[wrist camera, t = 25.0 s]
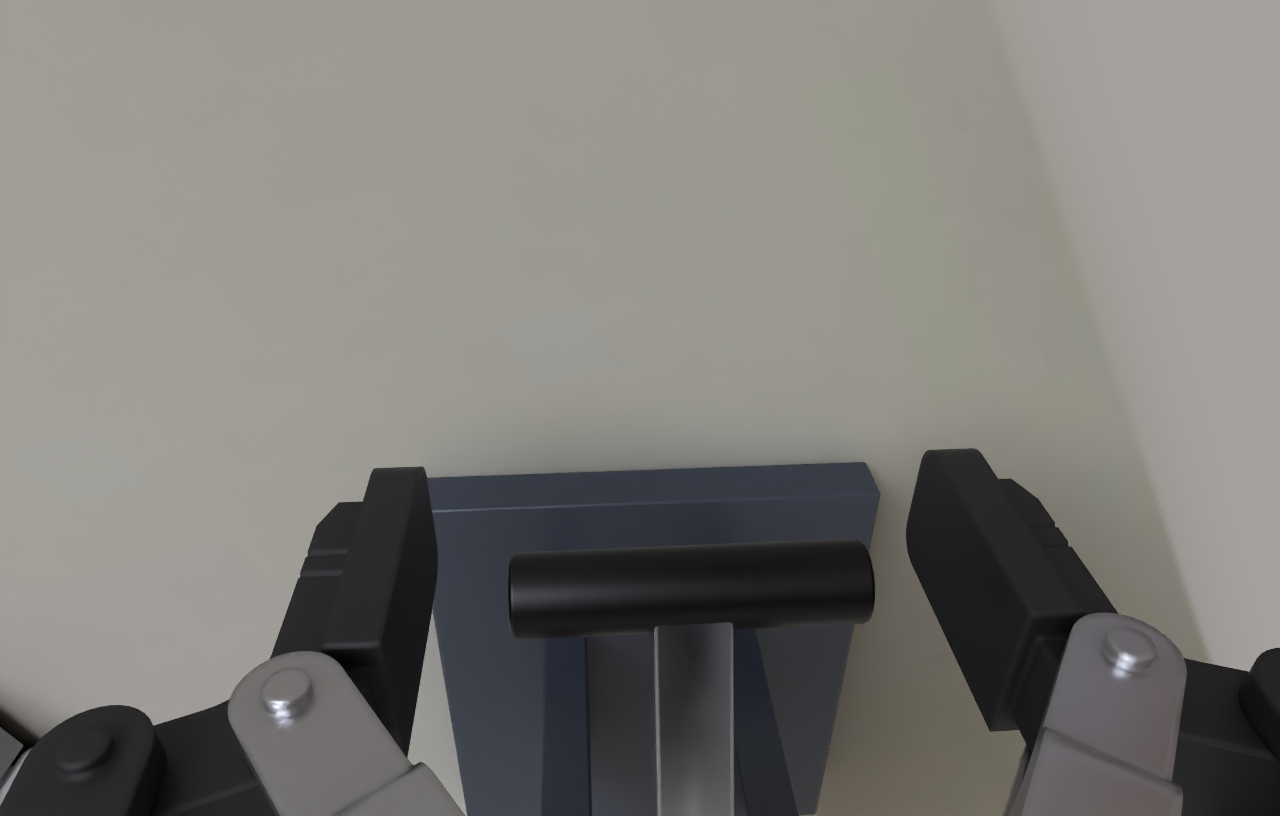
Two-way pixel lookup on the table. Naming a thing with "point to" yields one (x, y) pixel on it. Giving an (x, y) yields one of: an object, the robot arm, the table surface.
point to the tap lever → (690, 632)
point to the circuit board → (9, 761)
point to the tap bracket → (629, 636)
